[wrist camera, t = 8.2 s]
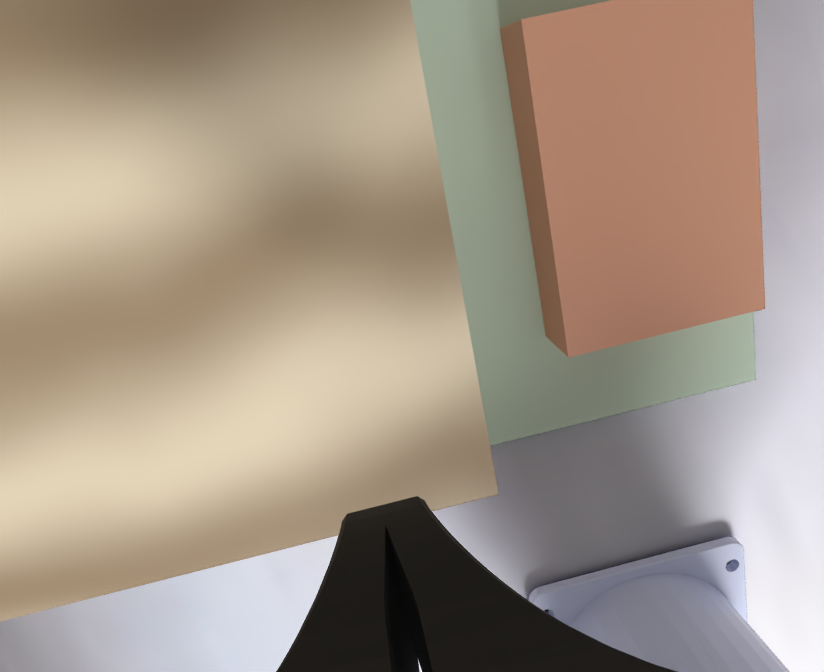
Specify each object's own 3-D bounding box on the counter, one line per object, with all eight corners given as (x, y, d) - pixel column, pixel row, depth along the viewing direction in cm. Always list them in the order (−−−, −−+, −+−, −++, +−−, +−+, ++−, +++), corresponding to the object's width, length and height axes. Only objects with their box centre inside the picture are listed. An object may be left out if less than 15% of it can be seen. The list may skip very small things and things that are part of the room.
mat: (748, 375, 24) (755, 379, 24) (475, 443, 23) (478, 448, 23) (727, -129, 19) (735, -134, 19) (380, -63, 18) (382, -67, 18)
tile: (568, 357, 20) (545, 336, 22) (764, 308, 21) (726, 291, 23) (521, 19, 17) (499, 28, 19) (751, -30, 18) (708, -16, 20)
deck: (466, 431, 23) (498, 494, 19) (-33, 554, 22) (-103, 647, 18) (377, -41, 19) (396, -78, 15) (-260, 83, 17) (-416, 75, 14)
